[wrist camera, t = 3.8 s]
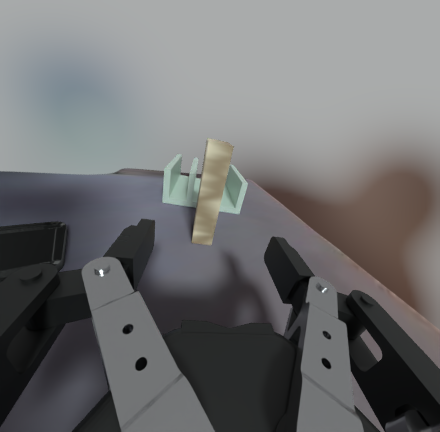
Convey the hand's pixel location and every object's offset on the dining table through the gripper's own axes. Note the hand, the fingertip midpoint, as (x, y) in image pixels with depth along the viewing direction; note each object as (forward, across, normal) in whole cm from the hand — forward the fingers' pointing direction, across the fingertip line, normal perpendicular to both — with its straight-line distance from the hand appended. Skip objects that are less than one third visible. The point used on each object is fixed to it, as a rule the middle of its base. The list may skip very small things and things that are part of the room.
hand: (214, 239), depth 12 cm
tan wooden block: (+10, 0, +6) cm, 12 cm away
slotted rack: (+26, 0, +6) cm, 27 cm away
